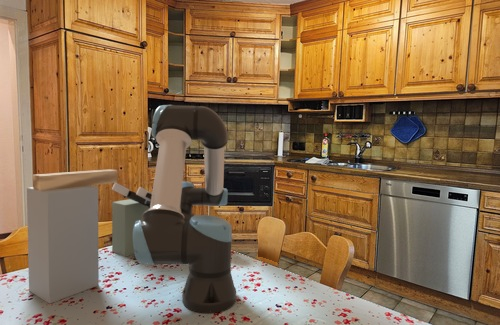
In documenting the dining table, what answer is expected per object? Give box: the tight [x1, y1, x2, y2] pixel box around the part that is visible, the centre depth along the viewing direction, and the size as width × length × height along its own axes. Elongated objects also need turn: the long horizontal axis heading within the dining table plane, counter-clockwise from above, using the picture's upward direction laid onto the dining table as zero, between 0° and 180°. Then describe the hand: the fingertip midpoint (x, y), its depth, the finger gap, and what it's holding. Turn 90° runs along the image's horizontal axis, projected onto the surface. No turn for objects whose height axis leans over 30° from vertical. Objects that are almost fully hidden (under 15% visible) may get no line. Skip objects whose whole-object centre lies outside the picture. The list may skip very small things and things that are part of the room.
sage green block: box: [111, 198, 150, 257], centre depth 130 cm, size 8×14×20 cm, turn 146°
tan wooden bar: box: [32, 168, 118, 191], centre depth 98 cm, size 4×23×4 cm, turn 146°
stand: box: [26, 185, 100, 304], centre depth 96 cm, size 12×14×30 cm
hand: (125, 188), depth 112 cm, fingers open, 13 cm apart
